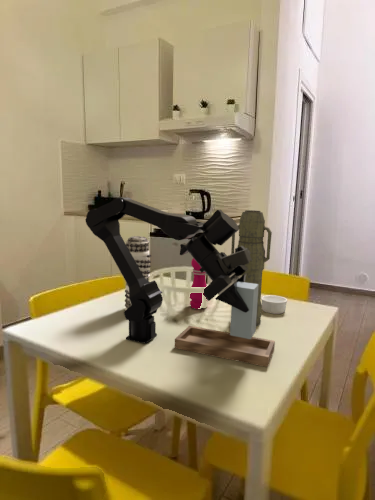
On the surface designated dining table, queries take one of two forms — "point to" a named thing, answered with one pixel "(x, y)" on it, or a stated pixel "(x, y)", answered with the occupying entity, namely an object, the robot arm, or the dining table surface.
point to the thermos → (254, 249)
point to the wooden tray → (226, 345)
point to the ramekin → (273, 304)
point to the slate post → (240, 320)
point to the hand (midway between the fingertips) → (250, 308)
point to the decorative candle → (138, 259)
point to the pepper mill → (197, 285)
